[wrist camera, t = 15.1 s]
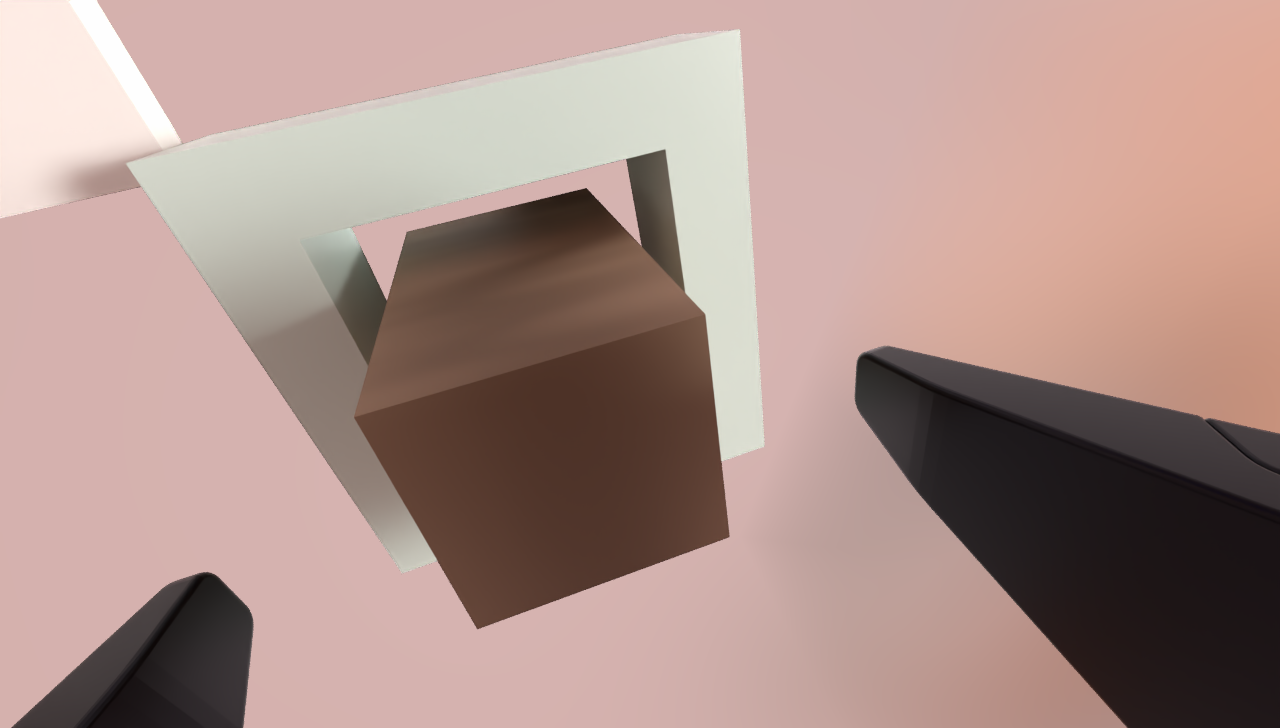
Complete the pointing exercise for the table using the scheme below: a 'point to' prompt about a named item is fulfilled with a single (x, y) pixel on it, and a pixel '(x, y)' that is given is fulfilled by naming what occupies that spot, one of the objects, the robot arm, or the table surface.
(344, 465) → the frame
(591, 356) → the walnut peg block
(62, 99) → the tile
